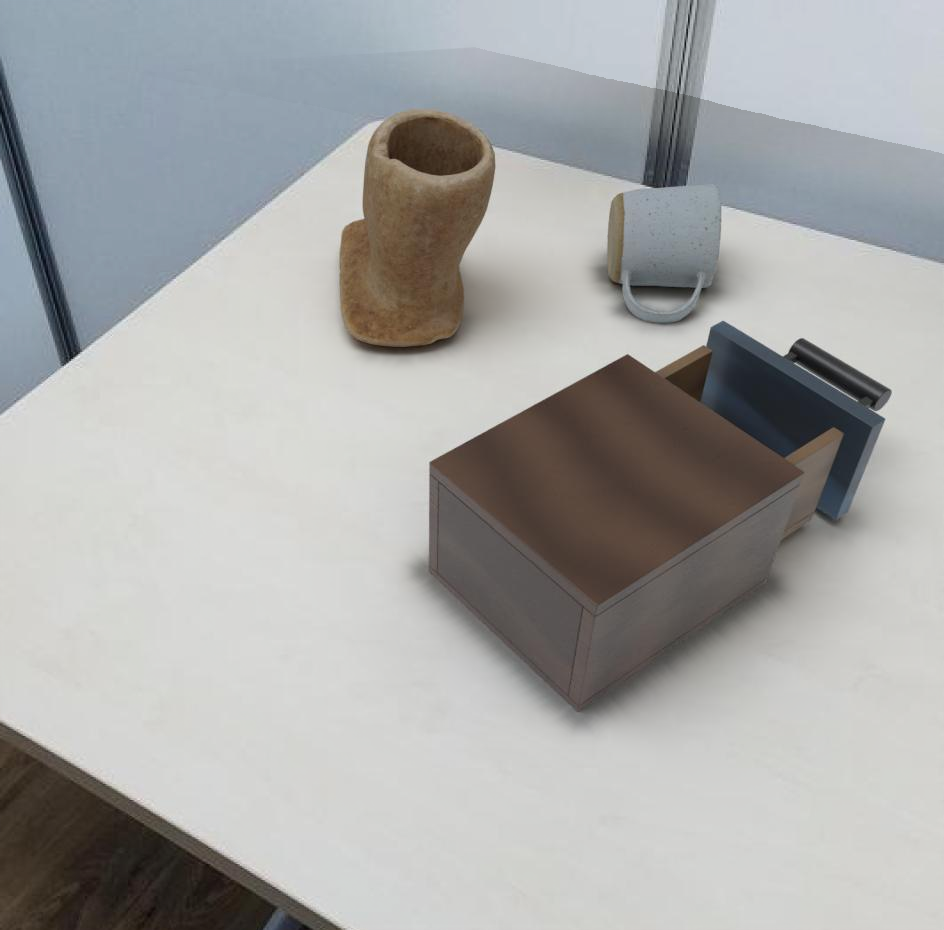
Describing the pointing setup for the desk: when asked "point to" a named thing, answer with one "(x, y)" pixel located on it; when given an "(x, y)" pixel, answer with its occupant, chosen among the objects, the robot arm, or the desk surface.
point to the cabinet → (606, 525)
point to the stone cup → (414, 228)
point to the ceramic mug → (664, 243)
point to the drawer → (791, 410)
